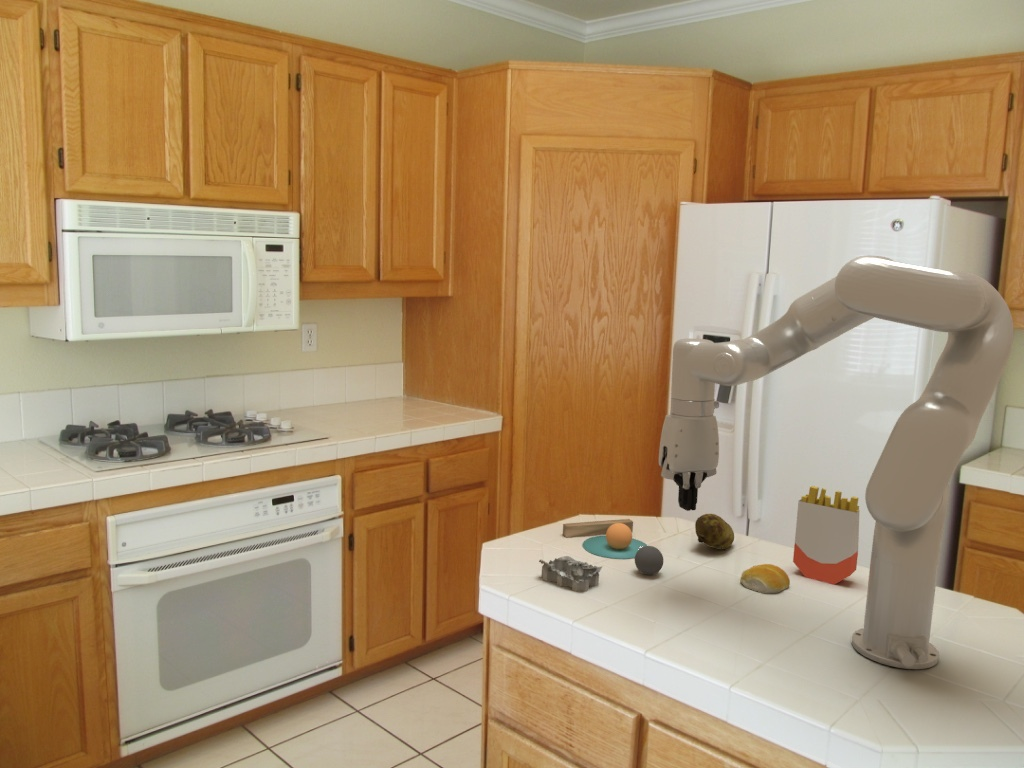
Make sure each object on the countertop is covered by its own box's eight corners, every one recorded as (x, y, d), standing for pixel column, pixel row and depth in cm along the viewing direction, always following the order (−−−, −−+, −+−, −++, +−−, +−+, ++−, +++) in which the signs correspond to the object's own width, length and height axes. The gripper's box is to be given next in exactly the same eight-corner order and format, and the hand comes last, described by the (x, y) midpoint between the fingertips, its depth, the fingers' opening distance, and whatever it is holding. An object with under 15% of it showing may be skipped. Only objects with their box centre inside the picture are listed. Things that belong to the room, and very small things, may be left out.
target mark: (651, 561, 170) (651, 560, 170) (581, 556, 171) (582, 555, 171) (647, 538, 183) (647, 537, 183) (583, 534, 185) (583, 533, 185)
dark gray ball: (643, 545, 167) (648, 574, 166) (626, 549, 163) (631, 578, 162) (666, 542, 163) (671, 571, 162) (649, 546, 159) (655, 575, 158)
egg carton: (535, 579, 159) (536, 559, 158) (560, 569, 164) (561, 549, 164) (580, 596, 152) (580, 574, 151) (604, 585, 157) (605, 564, 156)
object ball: (617, 519, 179) (617, 544, 180) (600, 523, 176) (600, 548, 176) (638, 523, 175) (637, 549, 176) (621, 527, 172) (620, 554, 172)
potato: (749, 548, 180) (752, 511, 179) (712, 560, 172) (715, 522, 171) (717, 537, 186) (720, 502, 185) (680, 548, 178) (682, 511, 177)
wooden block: (632, 532, 187) (633, 521, 187) (566, 537, 182) (566, 526, 182) (628, 529, 189) (629, 518, 189) (562, 534, 184) (563, 523, 184)
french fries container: (799, 567, 169) (807, 480, 167) (855, 581, 163) (864, 491, 160) (791, 573, 166) (799, 485, 163) (848, 588, 159) (858, 496, 157)
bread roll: (795, 586, 160) (797, 566, 160) (773, 598, 154) (775, 577, 153) (755, 573, 166) (756, 554, 165) (732, 585, 159) (734, 565, 159)
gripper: (716, 403, 156) (711, 500, 158) (644, 406, 151) (640, 506, 153) (740, 410, 149) (734, 511, 151) (665, 413, 144) (660, 517, 146)
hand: (687, 508), depth 152 cm, fingers closed
